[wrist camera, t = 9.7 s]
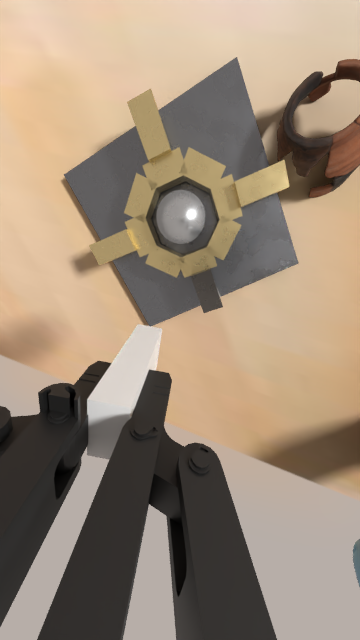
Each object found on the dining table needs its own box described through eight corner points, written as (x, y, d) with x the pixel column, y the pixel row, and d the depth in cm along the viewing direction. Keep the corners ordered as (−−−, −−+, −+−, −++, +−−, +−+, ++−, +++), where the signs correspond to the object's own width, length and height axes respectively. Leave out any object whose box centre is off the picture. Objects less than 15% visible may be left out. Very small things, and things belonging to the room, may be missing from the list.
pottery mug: (284, 215, 28) (283, 175, 21) (271, 147, 29) (265, 85, 22) (411, 172, 23) (470, 98, 16) (390, 91, 24) (436, -15, 17)
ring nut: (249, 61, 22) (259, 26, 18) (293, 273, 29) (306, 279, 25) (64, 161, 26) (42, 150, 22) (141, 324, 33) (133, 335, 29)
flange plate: (295, 262, 30) (319, 270, 24) (151, 324, 35) (141, 343, 29) (235, 63, 23) (247, 4, 17) (68, 176, 28) (32, 162, 22)
